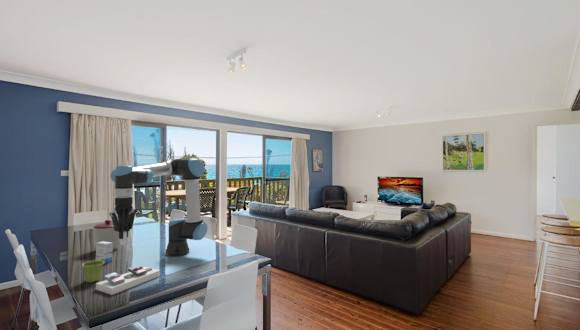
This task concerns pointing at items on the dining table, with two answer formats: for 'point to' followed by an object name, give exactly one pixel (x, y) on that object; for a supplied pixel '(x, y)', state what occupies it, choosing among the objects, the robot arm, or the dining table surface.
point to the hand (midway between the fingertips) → (123, 244)
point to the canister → (106, 234)
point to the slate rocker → (114, 278)
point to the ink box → (104, 251)
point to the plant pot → (92, 270)
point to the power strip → (127, 281)
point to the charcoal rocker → (137, 270)
